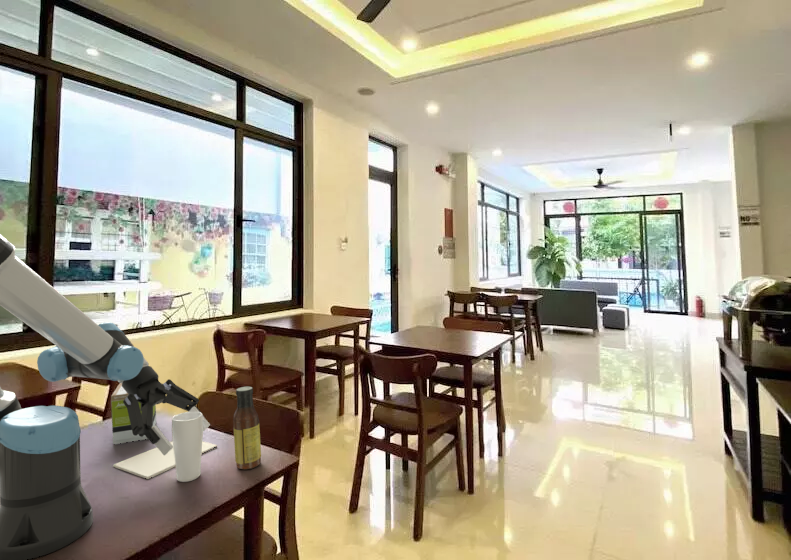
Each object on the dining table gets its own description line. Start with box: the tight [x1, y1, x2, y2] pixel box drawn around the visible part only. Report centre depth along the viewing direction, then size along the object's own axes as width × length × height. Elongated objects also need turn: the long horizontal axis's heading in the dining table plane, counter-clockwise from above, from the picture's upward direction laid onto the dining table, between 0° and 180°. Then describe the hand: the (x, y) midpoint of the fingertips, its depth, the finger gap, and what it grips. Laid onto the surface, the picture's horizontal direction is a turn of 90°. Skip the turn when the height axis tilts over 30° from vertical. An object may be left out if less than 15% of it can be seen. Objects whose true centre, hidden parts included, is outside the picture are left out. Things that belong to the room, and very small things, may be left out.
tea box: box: [110, 383, 157, 445], centre depth 129 cm, size 15×10×15 cm, turn 25°
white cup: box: [171, 411, 204, 483], centre depth 101 cm, size 7×7×15 cm
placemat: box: [112, 440, 218, 480], centre depth 113 cm, size 20×14×1 cm
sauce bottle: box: [232, 386, 262, 471], centre depth 107 cm, size 6×6×20 cm
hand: (188, 439), depth 103 cm, fingers open, 13 cm apart
